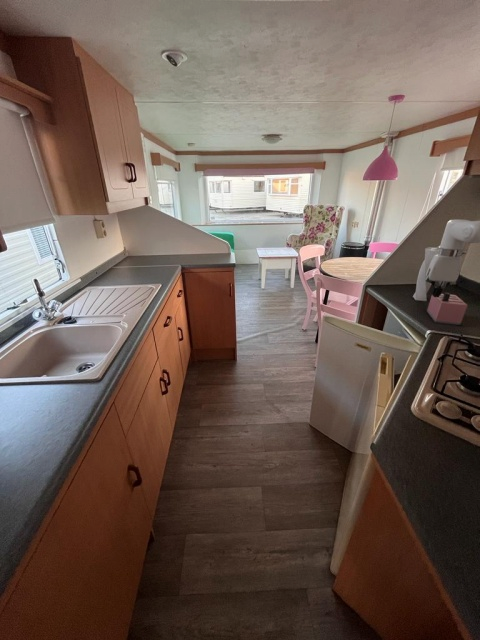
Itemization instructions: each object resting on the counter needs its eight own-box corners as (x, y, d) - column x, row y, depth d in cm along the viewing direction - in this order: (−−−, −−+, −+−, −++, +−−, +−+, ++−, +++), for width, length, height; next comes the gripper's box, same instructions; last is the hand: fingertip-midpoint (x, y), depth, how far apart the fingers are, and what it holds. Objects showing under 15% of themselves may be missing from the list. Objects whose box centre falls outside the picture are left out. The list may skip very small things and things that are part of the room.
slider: (447, 299, 113) (449, 292, 112) (449, 301, 111) (451, 294, 110) (441, 299, 114) (443, 292, 112) (443, 300, 112) (445, 293, 111)
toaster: (449, 313, 123) (455, 294, 119) (460, 325, 112) (468, 305, 108) (426, 310, 126) (432, 292, 122) (435, 322, 114) (441, 302, 110)
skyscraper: (430, 302, 136) (448, 246, 124) (413, 300, 138) (429, 245, 126) (425, 297, 143) (441, 243, 131) (409, 295, 145) (424, 243, 133)
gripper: (468, 252, 106) (452, 295, 114) (425, 250, 111) (413, 291, 118) (476, 255, 100) (459, 301, 108) (430, 253, 104) (417, 297, 112)
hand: (435, 296), depth 113 cm, fingers closed
